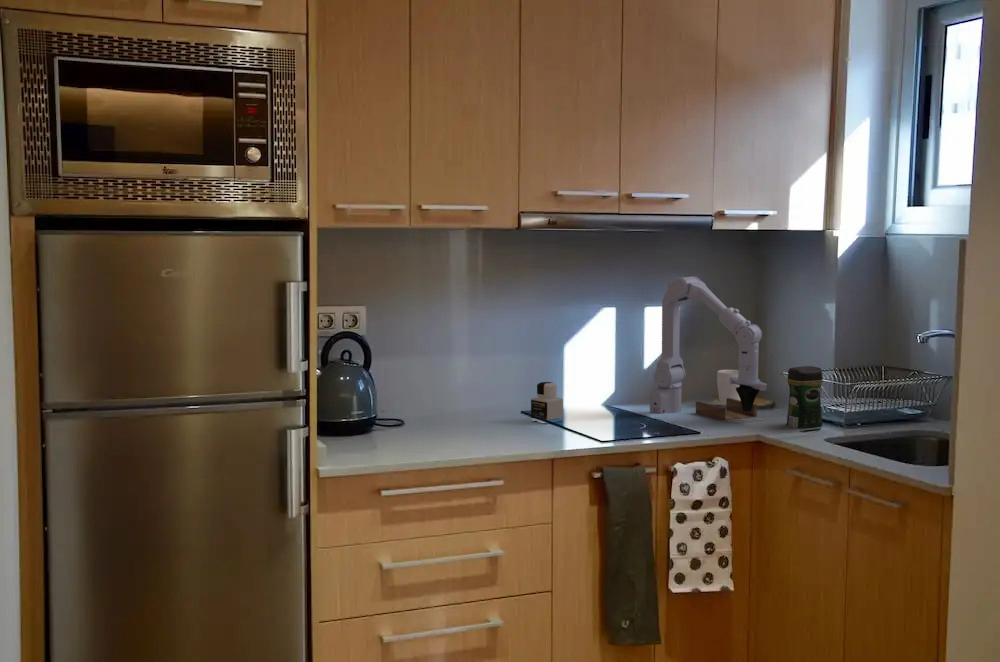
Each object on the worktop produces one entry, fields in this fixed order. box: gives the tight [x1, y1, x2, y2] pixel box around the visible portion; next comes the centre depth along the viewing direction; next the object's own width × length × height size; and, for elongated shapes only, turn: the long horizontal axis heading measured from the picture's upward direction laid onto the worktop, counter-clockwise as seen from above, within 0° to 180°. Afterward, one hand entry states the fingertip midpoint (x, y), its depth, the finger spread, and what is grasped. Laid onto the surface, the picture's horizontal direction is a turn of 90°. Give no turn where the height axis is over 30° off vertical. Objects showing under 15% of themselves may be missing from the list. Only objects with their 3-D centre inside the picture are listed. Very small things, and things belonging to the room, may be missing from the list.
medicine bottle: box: [530, 381, 564, 420], centre depth 300 cm, size 7×7×12 cm
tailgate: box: [724, 416, 767, 425], centre depth 293 cm, size 11×1×5 cm
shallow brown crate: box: [695, 398, 758, 422], centre depth 301 cm, size 13×13×5 cm
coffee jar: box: [786, 365, 824, 433], centre depth 284 cm, size 10×8×19 cm
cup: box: [716, 369, 741, 407], centre depth 319 cm, size 9×9×12 cm
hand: (747, 411), depth 292 cm, fingers closed
